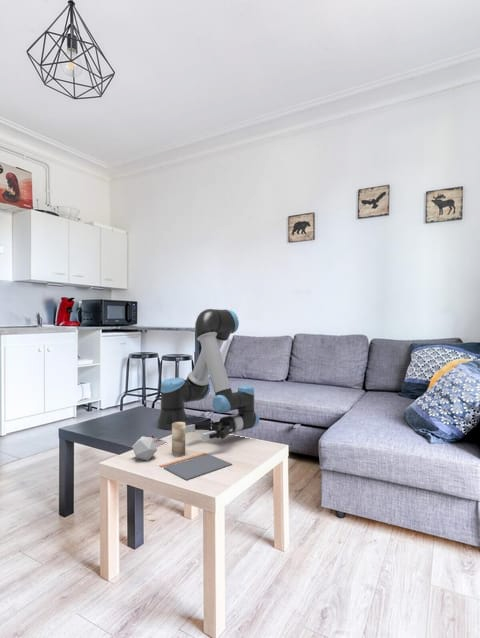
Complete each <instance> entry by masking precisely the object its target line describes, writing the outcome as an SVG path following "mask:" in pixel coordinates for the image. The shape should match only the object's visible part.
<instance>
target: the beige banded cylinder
mask: <svg viewBox="0 0 480 638" xmlns="http://www.w3.org/2000/svg"><path fill="white" fill-rule="evenodd" d="M171 455H173V456H172V457H177V458H178V457H183V455H184V456H185V455H186V433H185V422H174V423H172V429H171Z"/></svg>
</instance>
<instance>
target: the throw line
mask: <svg viewBox="0 0 480 638" xmlns="http://www.w3.org/2000/svg"><path fill="white" fill-rule="evenodd" d="M206 454H207V453H206V452H201V453H197V454H194V455H190V456H187V457H182V458H181V459H176V460H173V461H169V462H166V463H163V464H159V467H161V468H164V467H166V466H169V465H173V464H176V463H180V462H183V461H186V460H190V459H193V458H196V457H200V456H203V455H206Z"/></svg>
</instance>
